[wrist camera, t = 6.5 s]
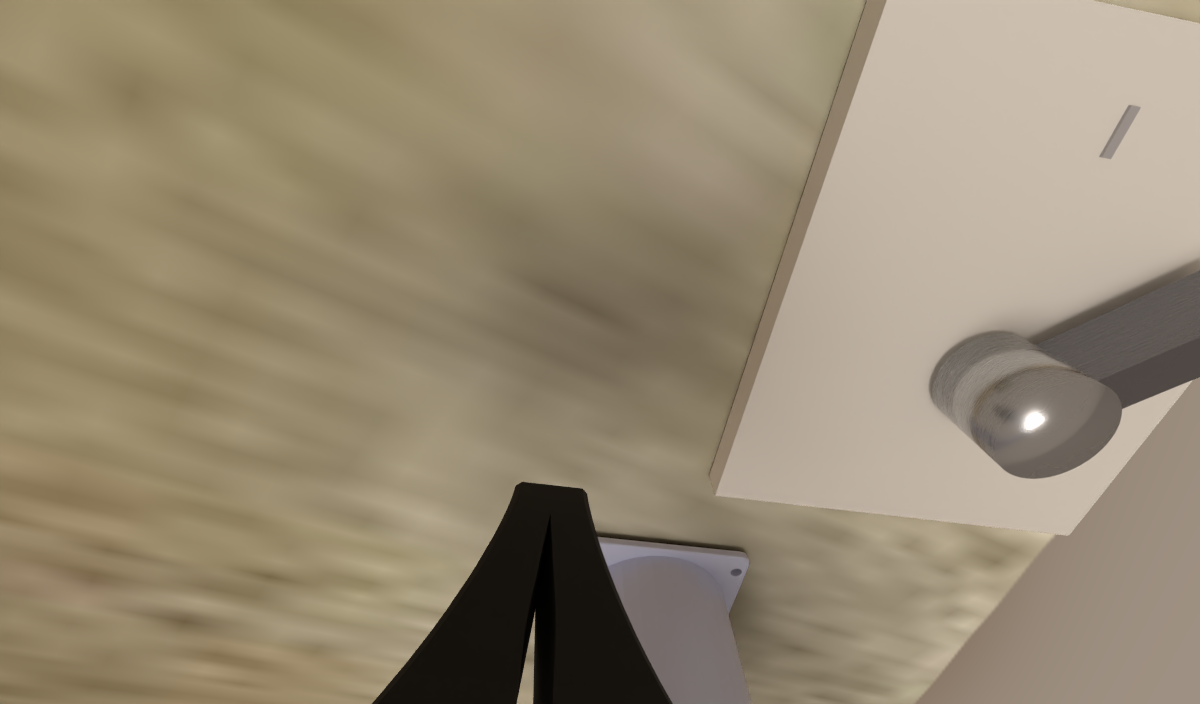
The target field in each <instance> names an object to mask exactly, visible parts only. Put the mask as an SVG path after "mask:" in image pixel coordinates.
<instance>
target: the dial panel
mask: <svg viewBox="0 0 1200 704" xmlns="http://www.w3.org/2000/svg"><path fill="white" fill-rule="evenodd" d="M1199 270H1200V23H1196V22H1192V21H1187V20H1182V19H1178V18H1173V17H1168V16H1164V15H1159V14H1154V13H1150V12H1145V11H1140V10H1136V9H1131V8H1126V7H1122V6H1117V5H1112V4H1108V3H1103V2H1098V1H1094V0H867V2H866V5H865V8H864V11H863V14H862V17H861V20H860V23H859V26H858V29H857V32H856V35H855V38H854V41H853V44H852V47H851V50H850V53H849V56H848V59H847V62H846V65H845V68H844V71H843V74H842V77H841V80H840V83H839V86H838V89H837V92H836V95H835V98H834V101H833V104H832V107H831V110H830V113H829V116H828V119H827V122H826V125H825V128H824V131H823V134H822V137H821V140H820V143H819V146H818V149H817V152H816V156H815V159H814V162H813V165H812V168H811V171H810V174H809V177H808V180H807V183H806V186H805V189H804V192H803V195H802V198H801V201H800V204H799V207H798V210H797V213H796V216H795V219H794V222H793V225H792V228H791V231H790V234H789V237H788V240H787V243H786V246H785V249H784V252H783V255H782V258H781V261H780V264H779V267H778V270H777V273H776V276H775V279H774V282H773V285H772V288H771V291H770V294H769V297H768V300H767V303H766V306H765V309H764V312H763V315H762V318H761V321H760V324H759V327H758V330H757V333H756V336H755V339H754V342H753V345H752V348H751V351H750V354H749V357H748V361H747V364H746V367H745V370H744V373H743V376H742V379H741V382H740V385H739V388H738V391H737V394H736V397H735V400H734V403H733V406H732V409H731V412H730V415H729V418H728V421H727V424H726V427H725V430H724V433H723V436H722V439H721V442H720V445H719V448H718V451H717V454H716V457H715V460H714V463H713V466H712V469H711V472H710V475H709V477H710V480H711V484H712V487H713V490H714V494H715V496H722V497H730V498H739V499H748V500H757V501H766V502H775V503H784V504H792V505H801V506H810V507H819V508H828V509H837V510H846V511H854V512H863V513H872V514H881V515H890V516H899V517H908V518H916V519H925V520H934V521H943V522H952V523H961V524H969V525H978V526H987V527H996V528H1005V529H1014V530H1023V531H1031V532H1040V533H1049V534H1058V535H1067V536H1069V534H1070V533H1071V532H1072V531H1073V529H1074V528H1075V527H1076V525H1077V524H1078V523H1079V522H1080V521H1081V519H1082V518H1083V517H1084V516H1085V514H1086V513H1087V512H1088V511H1089V510H1090V508H1091V507H1092V506H1093V504H1094V503H1095V502H1096V501H1097V499H1098V498H1099V497H1100V496H1101V494H1102V493H1103V492H1104V491H1105V489H1106V488H1107V487H1108V486H1109V484H1110V483H1111V482H1112V481H1113V479H1114V478H1115V477H1116V476H1117V474H1118V473H1119V472H1120V470H1121V469H1122V468H1123V467H1124V466H1125V464H1126V463H1127V462H1128V461H1129V459H1130V458H1131V457H1132V456H1133V454H1134V453H1135V452H1136V451H1137V449H1138V448H1139V447H1140V446H1141V444H1142V443H1143V442H1144V441H1145V439H1146V438H1147V437H1148V436H1149V434H1150V433H1151V432H1152V431H1153V429H1154V428H1155V427H1156V426H1157V424H1158V423H1159V422H1160V421H1161V419H1162V418H1163V417H1164V416H1165V414H1166V413H1167V412H1168V410H1169V409H1170V408H1171V407H1172V406H1173V404H1174V403H1175V402H1176V401H1177V399H1178V398H1179V397H1180V396H1181V394H1182V393H1183V392H1184V391H1185V389H1186V388H1187V387H1188V385H1189V384H1190V383H1191V382H1192V380H1191V381H1189V382H1187V383H1184V384H1182V385H1179V386H1177V387H1174V388H1172V389H1170V390H1167V391H1165V392H1162V393H1160V394H1157V395H1155V396H1153V397H1150V398H1148V399H1145V400H1143V401H1140V402H1138V403H1136V404H1133V405H1131V406H1128V407H1126V408H1123V409H1122V416H1121V420H1120V424H1119V426H1118V428H1117V431H1116V432H1115V434H1114V436H1113V437H1112V438H1111V440H1110V441H1109V442H1108V444H1107V445H1106V446H1105V447H1104V448H1103V449H1102V450H1101V451H1100V452H1098V453H1097V454H1096V455H1095V456H1094V457H1092V458H1091V459H1090V460H1088V461H1087V462H1085V463H1083V464H1082V465H1080V466H1078V467H1076V468H1074V469H1072V470H1070V471H1068V472H1065V473H1062V474H1059V475H1056V476H1052V477H1047V478H1039V479H1027V478H1020V477H1017V476H1014V475H1011V474H1009V473H1008V472H1006V471H1005V470H1003V469H1002V468H1001V467H1000V466H999V465H998V464H997V463H996V462H995V461H994V460H993V459H992V458H991V457H989V456H988V455H987V454H986V453H985V452H984V451H983V450H982V449H981V448H980V447H979V446H978V445H976V444H975V443H974V442H973V441H972V440H971V439H970V438H969V437H968V436H967V435H966V434H965V433H963V432H962V431H961V430H960V429H959V428H958V427H957V426H956V425H955V424H954V423H953V422H952V421H951V420H949V419H948V418H947V417H946V416H945V415H944V414H943V413H942V412H941V411H940V410H939V409H938V408H937V406H936V405H935V402H934V399H933V393H932V391H933V384H934V380H935V377H936V375H937V373H938V371H939V369H940V368H941V366H942V365H943V364H944V362H945V361H946V360H947V359H948V358H949V357H950V356H951V355H952V354H953V353H954V352H956V351H957V350H958V349H959V348H961V347H962V346H964V345H966V344H967V343H969V342H971V341H973V340H976V339H978V338H981V337H984V336H987V335H992V334H1001V333H1002V334H1013V335H1017V336H1020V337H1022V338H1024V339H1026V340H1028V341H1029V342H1031V343H1033V344H1035V345H1036V344H1038V343H1041V342H1043V341H1045V340H1047V339H1049V338H1052V337H1054V336H1056V335H1058V334H1060V333H1063V332H1065V331H1067V330H1069V329H1071V328H1074V327H1076V326H1078V325H1080V324H1082V323H1085V322H1087V321H1089V320H1091V319H1093V318H1096V317H1098V316H1100V315H1102V314H1104V313H1107V312H1109V311H1111V310H1113V309H1115V308H1118V307H1120V306H1122V305H1124V304H1126V303H1129V302H1131V301H1133V300H1135V299H1137V298H1140V297H1142V296H1144V295H1146V294H1148V293H1151V292H1153V291H1155V290H1157V289H1159V288H1162V287H1164V286H1166V285H1168V284H1170V283H1173V282H1175V281H1177V280H1179V279H1181V278H1184V277H1186V276H1188V275H1190V274H1192V273H1195V272H1197V271H1199Z"/></svg>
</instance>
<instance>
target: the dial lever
mask: <svg viewBox="0 0 1200 704" xmlns="http://www.w3.org/2000/svg"><path fill="white" fill-rule="evenodd" d="M1198 377H1200V270H1199V271H1197V272H1195V273H1192V274H1190V275H1188V276H1186V277H1184V278H1181V279H1179V280H1177V281H1175V282H1173V283H1170V284H1168V285H1166V286H1164V287H1162V288H1159V289H1157V290H1155V291H1153V292H1151V293H1148V294H1146V295H1144V296H1142V297H1140V298H1137V299H1135V300H1133V301H1131V302H1129V303H1126V304H1124V305H1122V306H1120V307H1118V308H1115V309H1113V310H1111V311H1109V312H1107V313H1104V314H1102V315H1100V316H1098V317H1096V318H1093V319H1091V320H1089V321H1087V322H1085V323H1082V324H1080V325H1078V326H1076V327H1074V328H1071V329H1069V330H1067V331H1065V332H1063V333H1060V334H1058V335H1056V336H1054V337H1052V338H1049V339H1047V340H1045V341H1043V342H1041V343H1038V344H1036V345H1035V344H1033V343H1031V342H1029V341H1028V340H1026V339H1024V338H1022V337H1020V336H1017V335H1013V334H1002V333H1001V334H992V335H987V336H984V337H981V338H978V339H976V340H973V341H971V342H969V343H967V344H966V345H964V346H962V347H961V348H959V349H958V350H957V351H956V352H954V353H953V354H952V355H951V356H950V357H949V358H948V359H947V360H946V361H945V362H944V364H943V365H942V366H941V368H940V369H939V371H938V373H937V375H936V377H935V380H934V384H933V391H932V393H933V399H934V402H935V405H936V406H937V408H938V409H939V410H940V411H941V412H942V413H943V414H944V415H945V416H946V417H947V418H948V419H949V420H951V421H952V422H953V423H954V424H955V425H956V426H957V427H958V428H959V429H960V430H961V431H962V432H963V433H965V434H966V435H967V436H968V437H969V438H970V439H971V440H972V441H973V442H974V443H975V444H976V445H978V446H979V447H980V448H981V449H982V450H983V451H984V452H985V453H986V454H987V455H988V456H989V457H991V458H992V459H993V460H994V461H995V462H996V463H997V464H998V465H999V466H1000V467H1001V468H1002V469H1003V470H1005V471H1006V472H1008V473H1009V474H1011V475H1014V476H1017V477H1020V478H1027V479H1039V478H1047V477H1052V476H1056V475H1059V474H1062V473H1065V472H1068V471H1070V470H1072V469H1074V468H1076V467H1078V466H1080V465H1082V464H1083V463H1085V462H1087V461H1088V460H1090V459H1091V458H1092V457H1094V456H1095V455H1096V454H1097V453H1098V452H1100V451H1101V450H1102V449H1103V448H1104V447H1105V446H1106V445H1107V444H1108V442H1109V441H1110V440H1111V438H1112V437H1113V436H1114V434H1115V432H1116V431H1117V428H1118V426H1119V424H1120V420H1121V416H1122V409H1123V408H1126V407H1128V406H1131V405H1133V404H1136V403H1138V402H1140V401H1143V400H1145V399H1148V398H1150V397H1153V396H1155V395H1157V394H1160V393H1162V392H1165V391H1167V390H1170V389H1172V388H1174V387H1177V386H1179V385H1182V384H1184V383H1187V382H1189V381H1191V380H1194V379H1196V378H1198Z"/></svg>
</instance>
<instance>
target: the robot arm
mask: <svg viewBox="0 0 1200 704" xmlns="http://www.w3.org/2000/svg"><path fill="white" fill-rule="evenodd" d="M749 564H750V562H749V559H748V556H747V554H745V553H744V552H740V551H730V550H720V549H711V548H701V547H691V546H682V545H672V544H662V543H653V542H643V541H634V540H624V539H614V538H605V537H597V534H596V530H595V527H594V523H593V520H592V516H591V512H590V507H589V503H588V497H587V493H586V492H585V491H584V490H583V489H580V488H571V487H562V486H553V485H545V484H536V483H527V482H521V483H520V484H518V485H516V487H515V490H514V493H513V496H512V499H511V501H510V504H509V506H508V508H507V511H506V513H505V515H504V517H503V519H502V521H501V523H500V525H499V527H498V529H497V531H496V533H495V534H494V536H493V538H492V540H491V541H490V543H489V545H488V546H487V548H486V550H485V552H484V553H483V555H482V557H481V558H480V560H479V562H478V564H477V565H476V567H475V568H474V570H473V572H472V573H471V575H470V576H469V578H468V579H467V581H466V582H465V584H464V585H463V587H462V588H461V590H460V591H459V593H458V594H457V596H456V597H455V598H454V600H453V601H452V603H451V604H450V606H449V607H448V609H447V610H446V612H445V613H444V614H443V616H442V617H441V619H440V620H439V621H438V623H437V624H436V625H435V627H434V628H433V629H432V631H431V632H430V633H429V635H428V636H427V637H426V639H425V640H424V641H423V643H422V644H421V645H420V646H419V648H418V649H417V650H416V651H415V653H414V654H413V655H412V657H411V658H410V659H409V660H408V662H407V663H406V664H405V665H404V666H403V668H402V669H401V670H400V671H399V672H398V674H397V675H396V676H395V677H394V678H393V680H392V681H391V682H390V683H389V684H388V686H387V687H386V688H385V689H384V690H383V691H382V693H381V694H380V695H379V696H378V697H377V699H376V700H375V701H374V702H373V703H372V704H516V703H517V698H518V693H519V688H520V683H521V678H522V673H523V668H524V663H525V658H526V653H527V648H528V643H529V638H530V633H531V628H532V623H533V618H534V613H535V651H534V697H533V704H752V702H751V699H750V695H749V691H748V687H747V683H746V680H745V676H744V672H743V668H742V664H741V660H740V657H739V653H738V649H737V645H736V641H735V638H734V634H733V630H732V626H731V622H730V618H729V612H730V610H731V608H732V605H733V603H734V600H735V598H736V596H737V593H738V591H739V589H740V586H741V584H742V581H743V579H744V577H745V574H746V572H747V570H748V567H749ZM535 608H536V609H535Z"/></svg>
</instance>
